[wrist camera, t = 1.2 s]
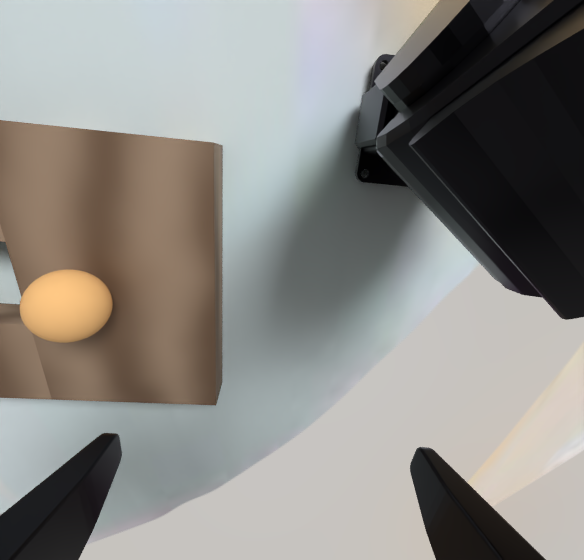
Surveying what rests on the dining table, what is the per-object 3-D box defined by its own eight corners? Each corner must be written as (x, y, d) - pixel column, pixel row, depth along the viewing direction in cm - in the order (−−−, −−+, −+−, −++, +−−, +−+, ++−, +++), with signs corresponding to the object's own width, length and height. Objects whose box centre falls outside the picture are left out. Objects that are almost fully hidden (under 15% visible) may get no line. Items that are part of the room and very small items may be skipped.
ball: (121, 262, 17) (77, 290, 13) (129, 320, 18) (92, 360, 15) (50, 257, 17) (-16, 284, 13) (64, 316, 18) (9, 356, 14)
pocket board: (222, 145, 17) (213, 142, 15) (222, 381, 24) (216, 405, 21) (-169, 104, 15) (-248, 94, 13) (-50, 370, 22) (-89, 394, 20)
